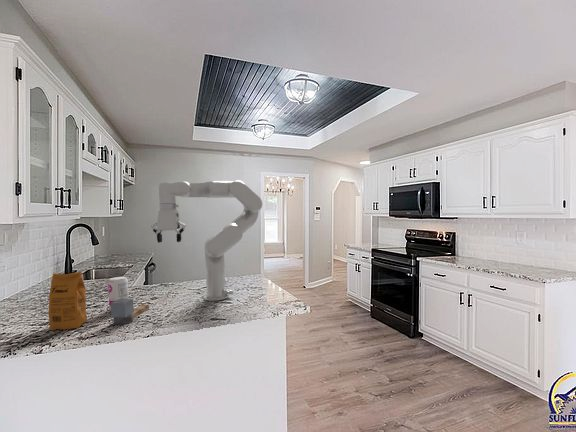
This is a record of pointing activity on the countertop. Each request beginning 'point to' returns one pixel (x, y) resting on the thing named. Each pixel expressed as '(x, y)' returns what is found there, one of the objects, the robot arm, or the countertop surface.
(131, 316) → the wooden handled hammer
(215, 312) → the countertop surface
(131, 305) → the blue gray cube
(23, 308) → the countertop surface
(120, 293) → the supplement can
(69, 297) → the coffee package
